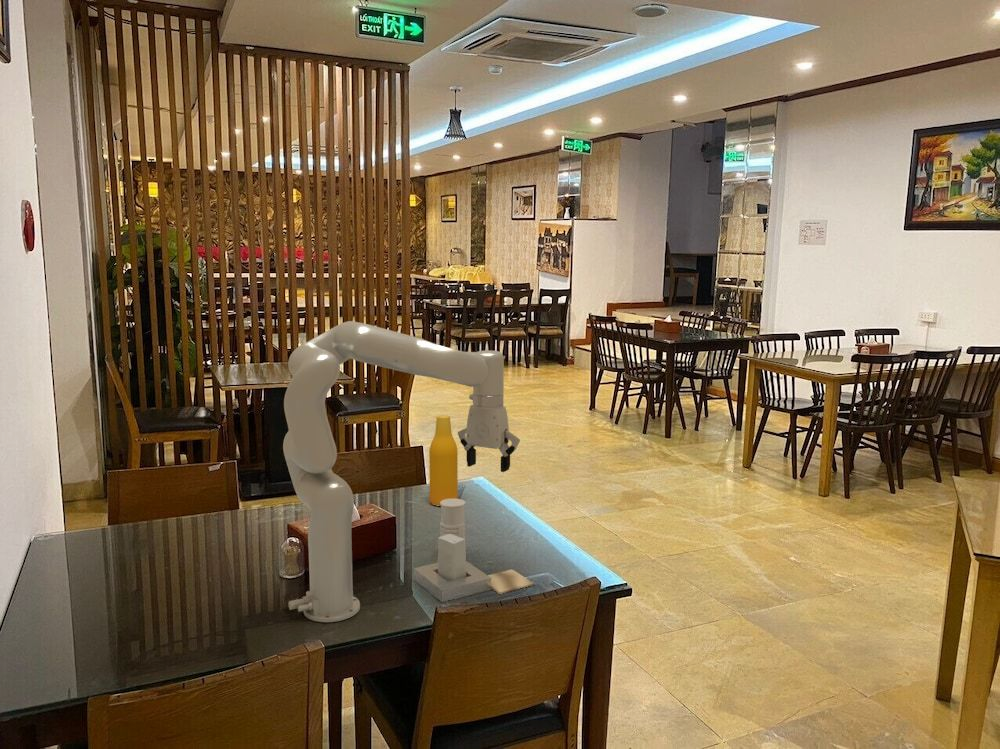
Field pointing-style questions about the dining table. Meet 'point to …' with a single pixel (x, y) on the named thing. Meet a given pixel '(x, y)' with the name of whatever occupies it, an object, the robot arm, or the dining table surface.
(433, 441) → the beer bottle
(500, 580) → the wooden coaster
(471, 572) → the white rectangular frame
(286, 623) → the dining table surface
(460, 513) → the white ribbed canister
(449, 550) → the skincare box
